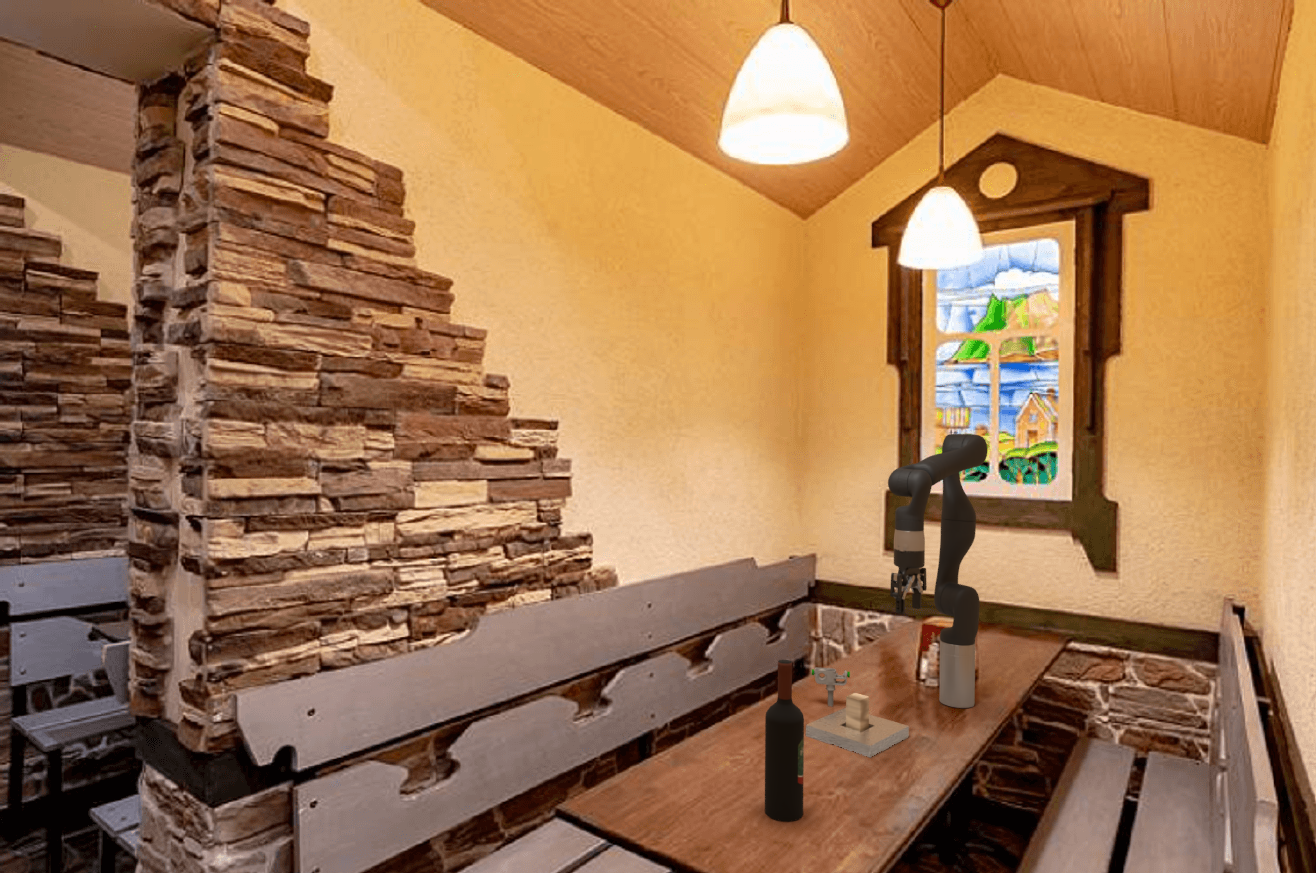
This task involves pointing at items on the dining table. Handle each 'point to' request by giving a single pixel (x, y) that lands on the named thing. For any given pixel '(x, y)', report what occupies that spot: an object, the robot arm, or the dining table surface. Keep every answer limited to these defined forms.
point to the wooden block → (857, 712)
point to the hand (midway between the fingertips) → (908, 611)
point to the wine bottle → (784, 752)
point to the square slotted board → (857, 733)
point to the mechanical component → (830, 680)
